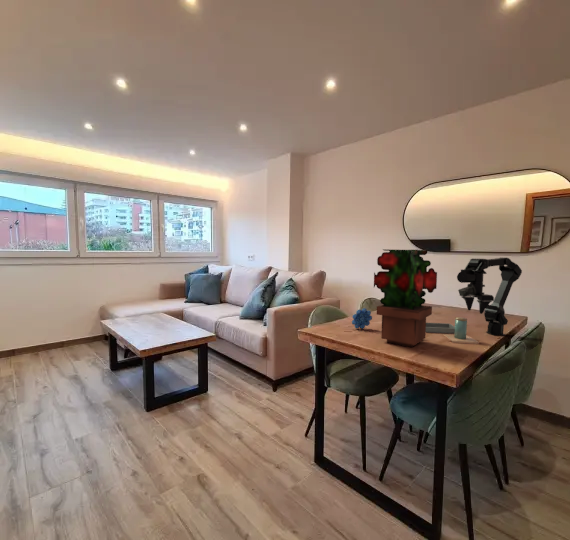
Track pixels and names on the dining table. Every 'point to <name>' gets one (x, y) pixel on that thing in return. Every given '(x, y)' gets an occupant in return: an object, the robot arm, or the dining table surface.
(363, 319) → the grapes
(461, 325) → the jar
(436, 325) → the grey tray
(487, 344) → the dining table surface
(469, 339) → the tile
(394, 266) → the potted plant
